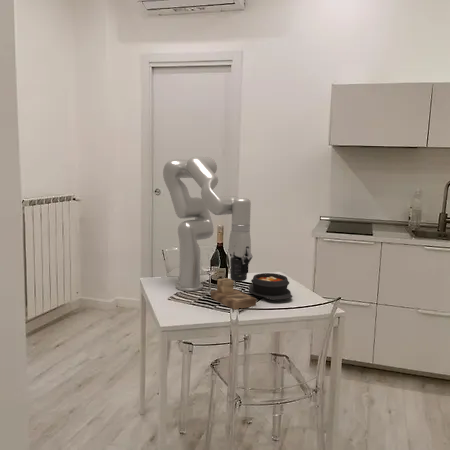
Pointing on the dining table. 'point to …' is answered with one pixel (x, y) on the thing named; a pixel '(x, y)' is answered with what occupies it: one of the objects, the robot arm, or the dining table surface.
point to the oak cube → (225, 285)
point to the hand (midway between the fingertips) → (239, 270)
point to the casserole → (270, 286)
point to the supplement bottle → (236, 269)
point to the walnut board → (234, 299)
